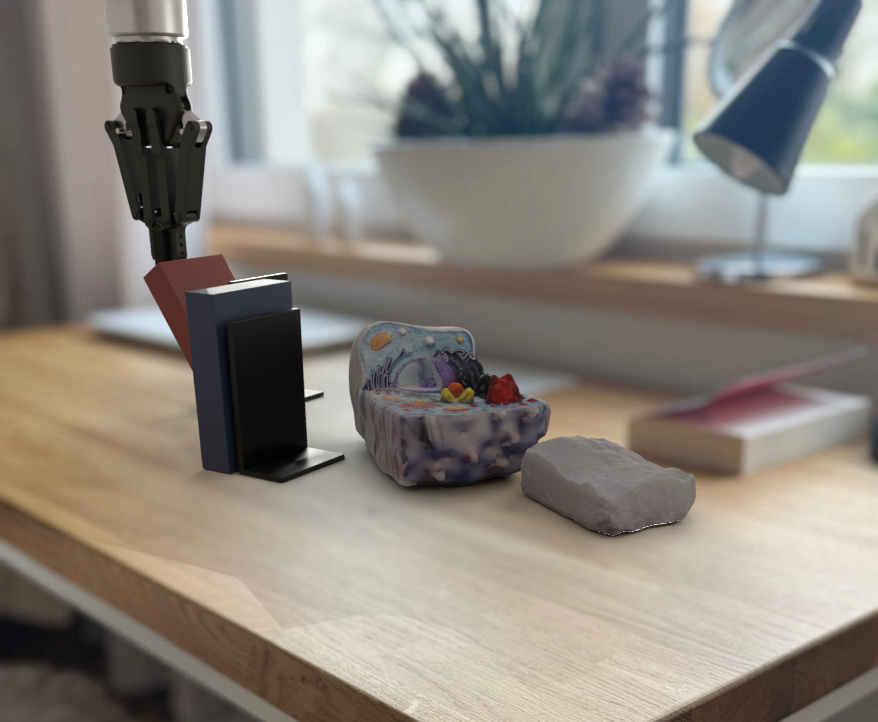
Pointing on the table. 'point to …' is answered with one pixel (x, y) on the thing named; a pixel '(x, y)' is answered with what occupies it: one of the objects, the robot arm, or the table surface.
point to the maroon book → (184, 289)
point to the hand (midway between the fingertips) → (172, 293)
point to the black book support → (271, 398)
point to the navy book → (223, 358)
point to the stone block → (604, 484)
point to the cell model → (438, 407)
